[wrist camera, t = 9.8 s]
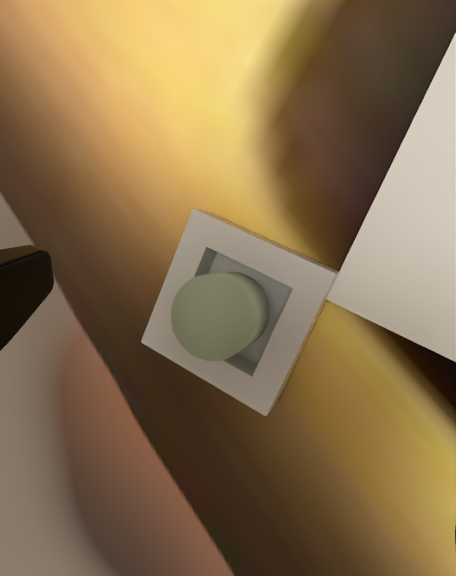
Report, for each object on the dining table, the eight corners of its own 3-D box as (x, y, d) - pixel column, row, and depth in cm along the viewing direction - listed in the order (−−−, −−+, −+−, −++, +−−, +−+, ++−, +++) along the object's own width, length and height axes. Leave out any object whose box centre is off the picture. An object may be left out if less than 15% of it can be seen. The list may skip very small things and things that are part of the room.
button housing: (275, 403, 23) (266, 416, 21) (158, 335, 25) (140, 342, 23) (340, 272, 21) (335, 273, 19) (208, 211, 24) (192, 208, 22)
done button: (250, 361, 22) (230, 377, 19) (187, 325, 23) (159, 335, 20) (282, 292, 21) (265, 298, 18) (214, 259, 22) (189, 259, 19)
